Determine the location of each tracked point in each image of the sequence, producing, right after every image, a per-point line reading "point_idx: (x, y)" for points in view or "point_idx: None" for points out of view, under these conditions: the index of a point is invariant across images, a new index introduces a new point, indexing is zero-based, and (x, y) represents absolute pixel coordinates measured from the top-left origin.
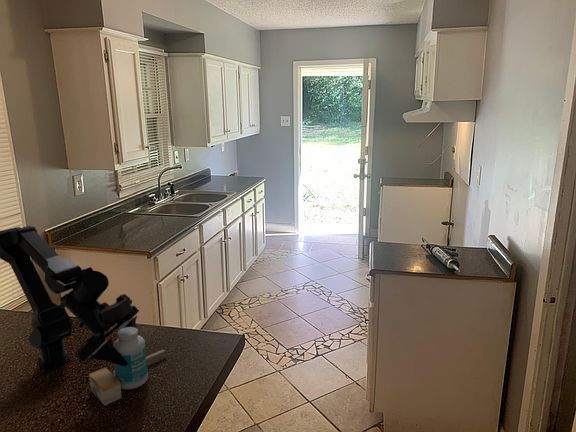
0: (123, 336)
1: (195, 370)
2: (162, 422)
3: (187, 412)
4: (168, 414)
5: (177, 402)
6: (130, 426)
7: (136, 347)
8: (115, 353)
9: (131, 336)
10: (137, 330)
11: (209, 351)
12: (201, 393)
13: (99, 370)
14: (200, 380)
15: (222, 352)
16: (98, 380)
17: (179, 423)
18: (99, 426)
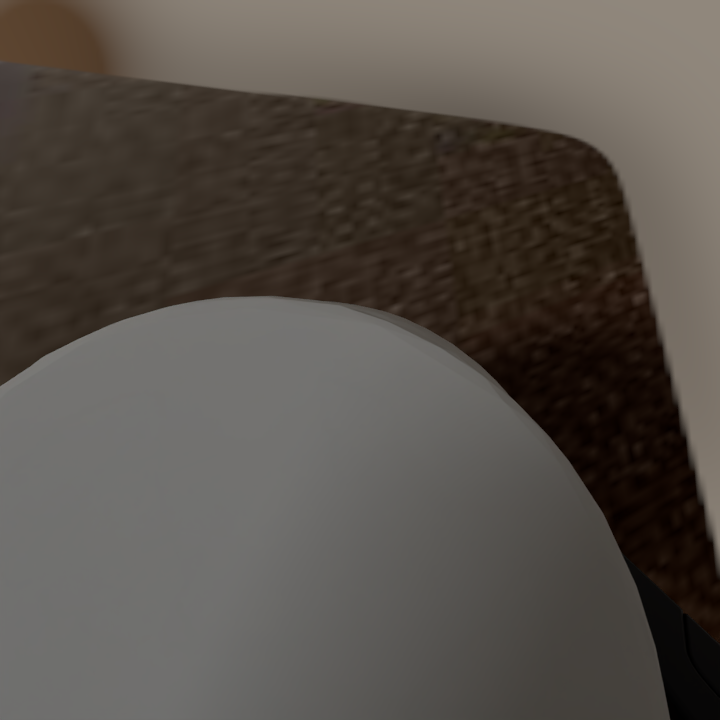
0: (658, 688)
1: (202, 192)
2: (603, 229)
3: (523, 151)
4: (550, 221)
5: (465, 207)
6: (661, 358)
7: (451, 347)
8: (708, 648)
9: (490, 401)
10: (153, 313)
11: (12, 165)
12: (390, 127)
13: None
14: (290, 151)
15: (35, 103)
16: None
17: (593, 164)
18: (701, 517)
